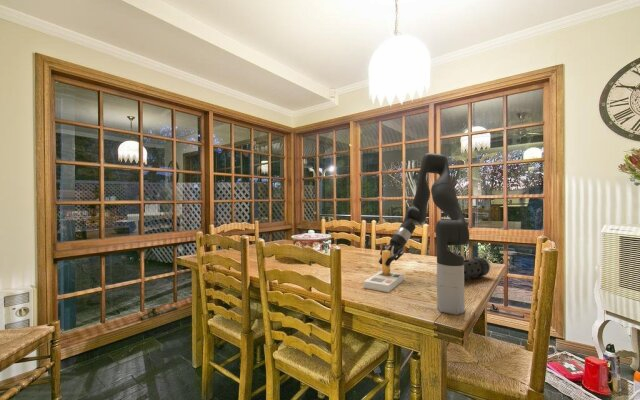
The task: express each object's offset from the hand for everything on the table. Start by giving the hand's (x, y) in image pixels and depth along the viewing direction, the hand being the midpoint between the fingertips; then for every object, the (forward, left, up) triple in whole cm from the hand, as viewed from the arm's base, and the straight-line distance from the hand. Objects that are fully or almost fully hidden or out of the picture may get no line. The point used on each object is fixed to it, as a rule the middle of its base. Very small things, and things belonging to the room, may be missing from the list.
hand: (383, 264), depth 141 cm
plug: (+2, -1, -6) cm, 6 cm away
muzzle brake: (+23, -34, -9) cm, 42 cm away
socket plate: (-4, -2, -8) cm, 9 cm away
